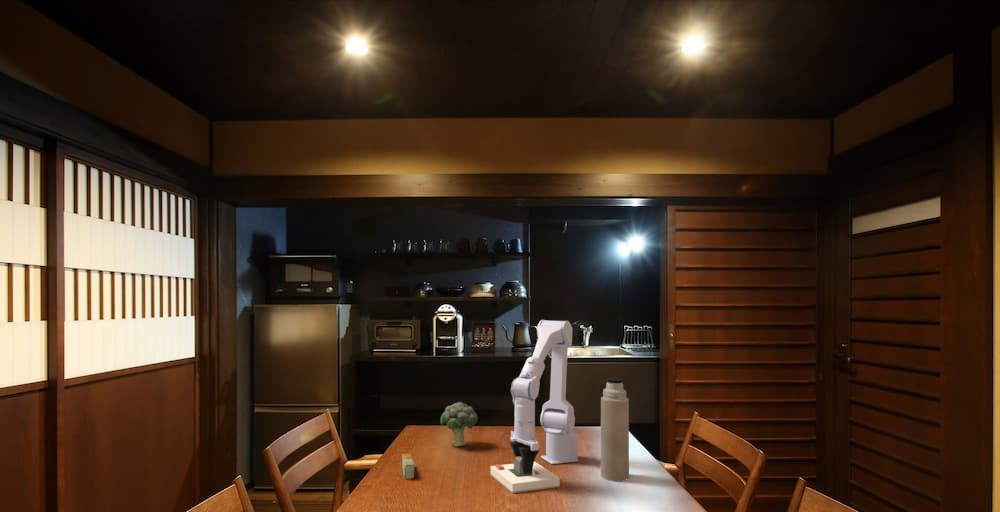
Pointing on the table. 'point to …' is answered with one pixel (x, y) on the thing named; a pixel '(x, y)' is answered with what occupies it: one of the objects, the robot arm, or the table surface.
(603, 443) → the thermos bottle
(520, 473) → the plug
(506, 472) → the faceplate
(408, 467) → the medication box
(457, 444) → the vegetable
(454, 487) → the table surface
